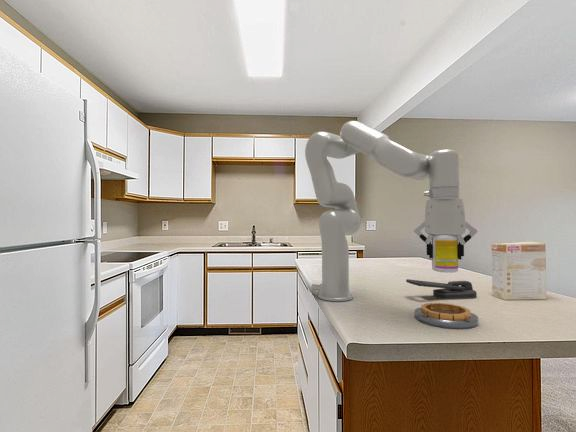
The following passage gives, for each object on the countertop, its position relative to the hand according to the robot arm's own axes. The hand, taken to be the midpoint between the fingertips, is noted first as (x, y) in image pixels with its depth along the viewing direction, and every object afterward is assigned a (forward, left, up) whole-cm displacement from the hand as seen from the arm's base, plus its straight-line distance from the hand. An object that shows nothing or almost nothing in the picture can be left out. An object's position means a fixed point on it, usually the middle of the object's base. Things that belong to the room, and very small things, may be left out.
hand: (444, 257), depth 91 cm
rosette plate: (0, 0, -17) cm, 17 cm away
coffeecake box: (+25, +37, -17) cm, 48 cm away
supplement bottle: (0, 0, -4) cm, 4 cm away
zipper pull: (0, +28, -18) cm, 33 cm away
